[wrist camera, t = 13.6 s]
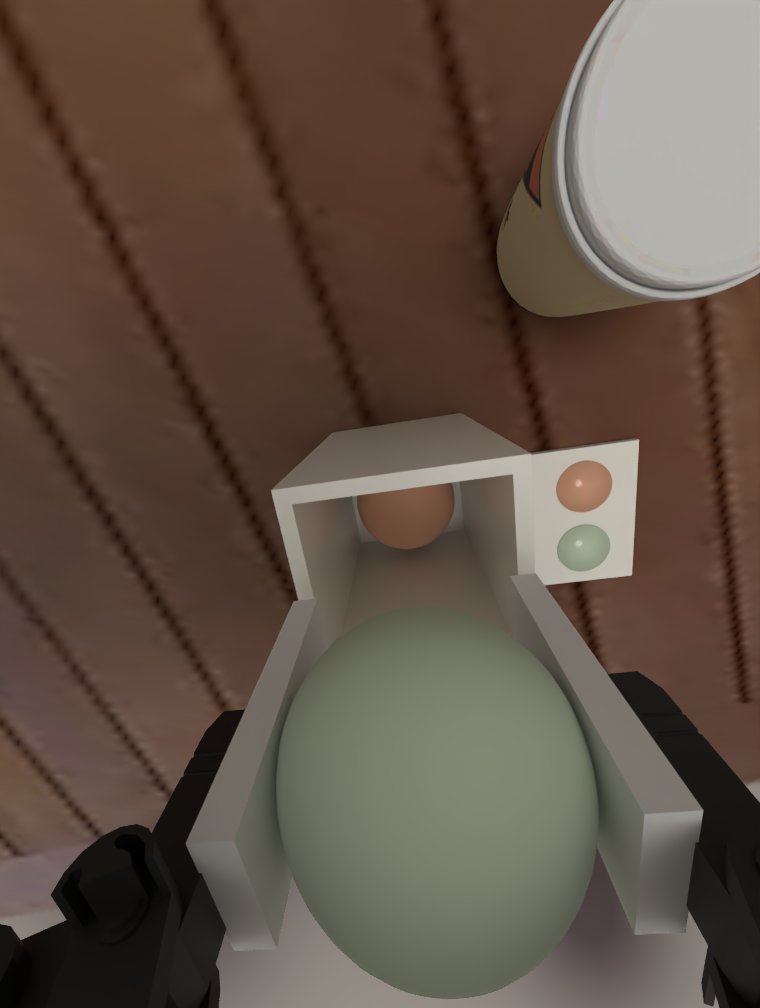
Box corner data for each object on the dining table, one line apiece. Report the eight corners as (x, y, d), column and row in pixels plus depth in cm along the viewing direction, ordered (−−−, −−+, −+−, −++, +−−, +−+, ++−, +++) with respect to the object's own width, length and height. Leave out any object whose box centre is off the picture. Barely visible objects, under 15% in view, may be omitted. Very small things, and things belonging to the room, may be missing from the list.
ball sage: (290, 573, 10) (153, 834, 4) (527, 545, 10) (721, 796, 4) (334, 747, 12) (278, 1088, 6) (534, 730, 11) (673, 1086, 6)
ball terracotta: (354, 450, 26) (342, 471, 21) (443, 438, 26) (456, 455, 20) (369, 532, 28) (361, 572, 22) (452, 522, 28) (466, 559, 22)
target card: (526, 453, 27) (530, 455, 26) (633, 438, 26) (640, 440, 25) (531, 582, 30) (535, 587, 29) (627, 571, 29) (633, 576, 28)
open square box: (332, 432, 27) (270, 490, 13) (461, 412, 26) (531, 453, 13) (354, 547, 29) (321, 692, 16) (471, 533, 28) (538, 671, 15)
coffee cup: (583, 100, 21) (817, -240, 9) (678, 246, 22) (970, 114, 11) (448, 244, 23) (502, 114, 11) (545, 365, 25) (673, 358, 13)
